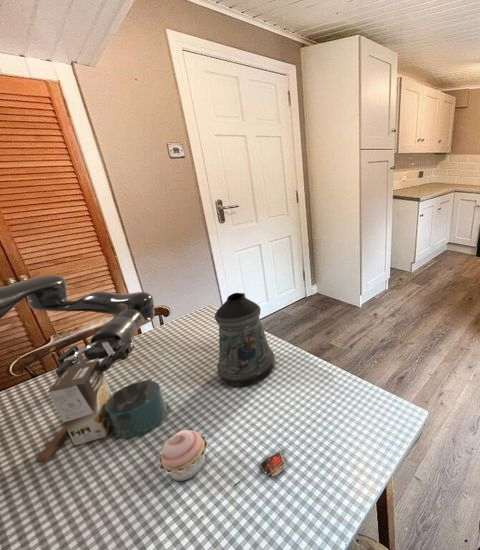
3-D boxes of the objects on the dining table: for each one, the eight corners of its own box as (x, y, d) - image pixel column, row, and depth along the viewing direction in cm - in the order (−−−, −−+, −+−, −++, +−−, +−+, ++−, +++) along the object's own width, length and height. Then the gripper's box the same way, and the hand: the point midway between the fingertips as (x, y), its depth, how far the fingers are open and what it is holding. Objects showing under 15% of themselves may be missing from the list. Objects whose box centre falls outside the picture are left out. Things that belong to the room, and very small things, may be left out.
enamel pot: (102, 447, 70) (90, 422, 67) (130, 403, 82) (121, 380, 80) (155, 437, 72) (146, 413, 69) (175, 395, 85) (168, 373, 82)
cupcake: (159, 497, 60) (145, 462, 56) (167, 457, 68) (155, 424, 64) (211, 478, 63) (201, 444, 59) (213, 442, 71) (204, 410, 67)
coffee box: (107, 436, 73) (83, 384, 67) (74, 446, 70) (46, 392, 64) (119, 409, 80) (99, 359, 74) (89, 417, 78) (65, 366, 72)
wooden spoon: (30, 463, 67) (27, 459, 66) (74, 410, 80) (72, 406, 80) (56, 458, 68) (54, 454, 67) (95, 406, 81) (94, 403, 81)
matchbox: (258, 466, 65) (258, 465, 65) (278, 449, 69) (278, 448, 69) (271, 480, 63) (271, 478, 62) (291, 461, 66) (291, 460, 66)
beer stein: (230, 397, 84) (212, 319, 75) (209, 363, 98) (192, 293, 88) (284, 370, 94) (274, 298, 85) (259, 343, 108) (248, 279, 98)
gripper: (147, 342, 89) (119, 379, 74) (91, 349, 86) (50, 389, 71) (140, 319, 86) (109, 354, 71) (81, 326, 83) (37, 363, 68)
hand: (80, 371), depth 71 cm, fingers open, 8 cm apart
